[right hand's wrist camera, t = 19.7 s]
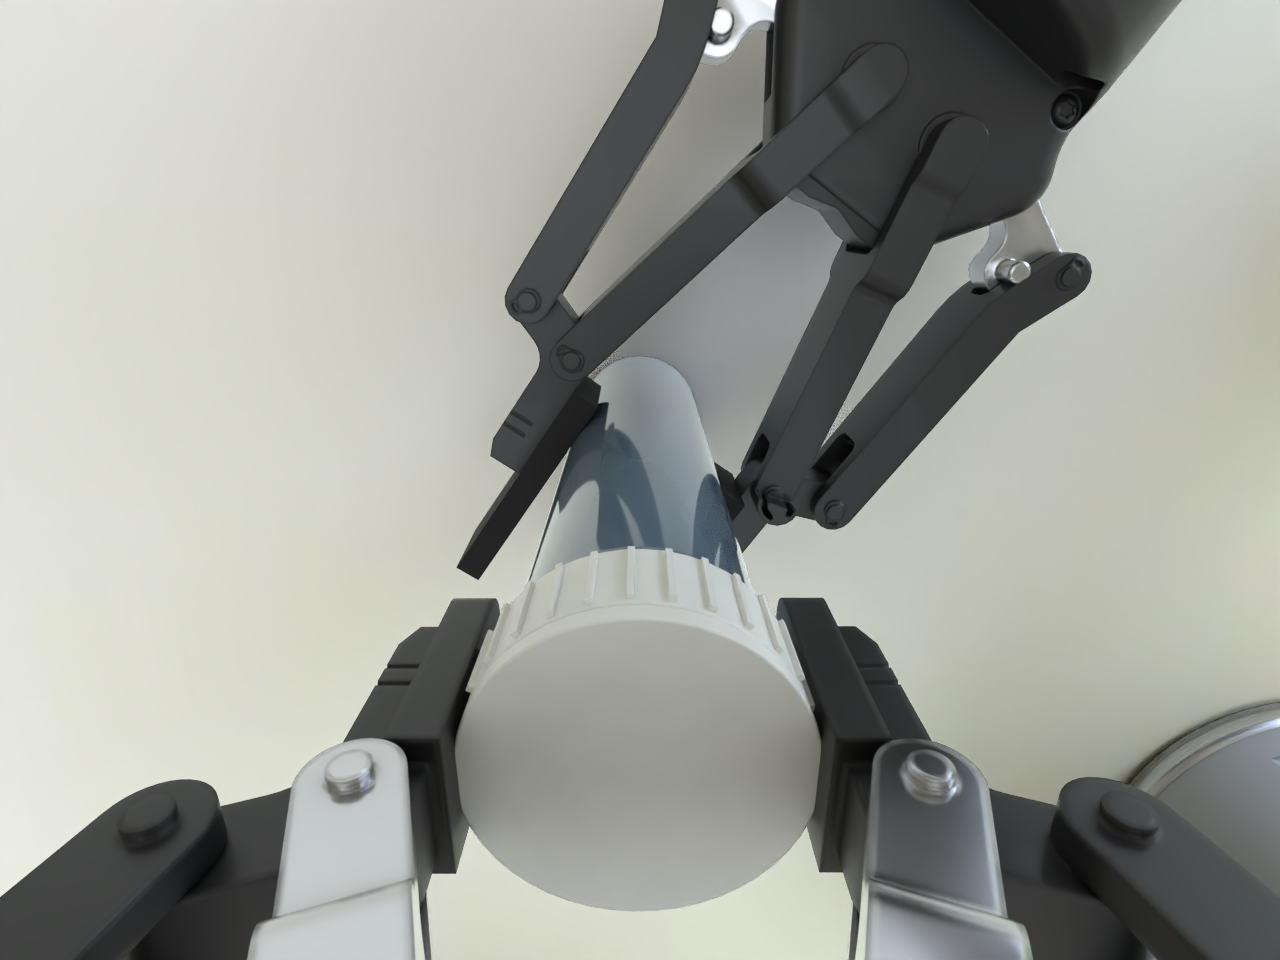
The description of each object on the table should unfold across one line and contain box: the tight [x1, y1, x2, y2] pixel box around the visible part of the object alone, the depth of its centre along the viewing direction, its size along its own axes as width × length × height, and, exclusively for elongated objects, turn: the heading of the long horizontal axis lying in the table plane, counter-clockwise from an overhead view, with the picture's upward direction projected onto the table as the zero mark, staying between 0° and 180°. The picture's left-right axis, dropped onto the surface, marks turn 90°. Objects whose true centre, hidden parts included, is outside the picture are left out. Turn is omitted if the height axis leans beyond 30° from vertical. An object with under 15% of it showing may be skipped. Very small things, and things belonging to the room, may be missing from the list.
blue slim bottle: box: [527, 356, 753, 590], centre depth 19 cm, size 4×4×18 cm
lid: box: [455, 546, 822, 911], centre depth 10 cm, size 5×5×2 cm
